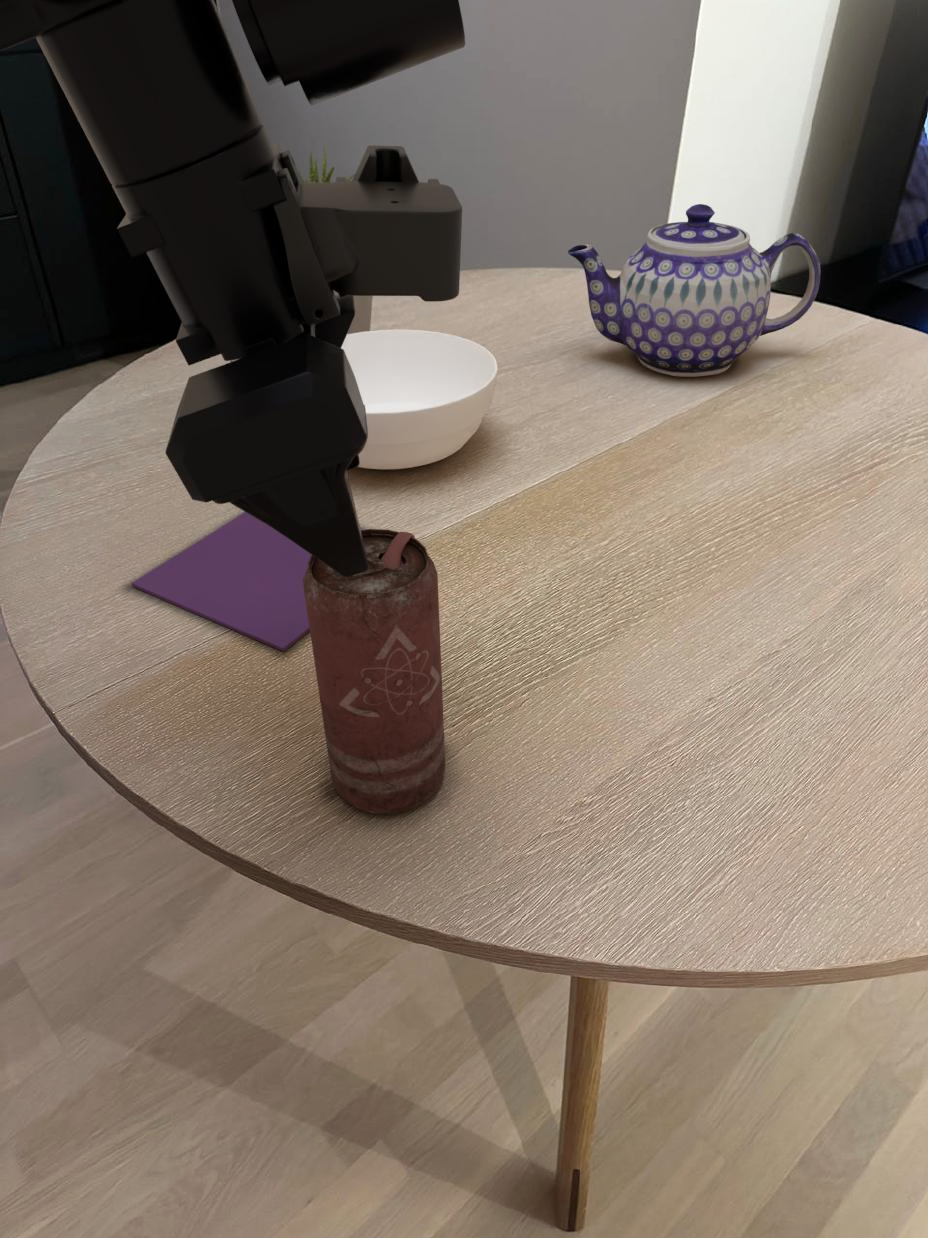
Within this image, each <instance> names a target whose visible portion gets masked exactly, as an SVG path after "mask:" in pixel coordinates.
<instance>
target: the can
mask: <svg viewBox="0 0 928 1238" xmlns="http://www.w3.org/2000/svg"><path fill="white" fill-rule="evenodd" d="M361 533H362V537H363V542H364V546H365V551H366V555H367V560H368V569H367V570H366V571H365V572H362V573H359V574H356V575H353V576H350V577H344V576H342V575H340V574H339V573H337V572H336V571H335V570H333V569H332V568H330V567H329V566H327V565H326V564H324V563H323V562H322V561H320V560H319V559H317V558H316V557H314V556H313V555H311V558H310V560H309V562H308V568H307V571H306V573H305V575H304V578H303V586H304V594H305V600H306V607H307V614H308V621H309V628H310V631H309V633H310V635H309V636H310V641H311V648H312V654H313V655H312V656H313V661H314V667H315V669H314V670H315V675H316V682H317V688H318V695H319V701H320V709H321V716H322V723H323V729H324V736H325V742H326V750H327V757H328V762H329V770H330V771H329V772H330V778H331V783H332V786H333V788H334V789H335V791H336V792H337V794H338V796H339V797H340V798H342V799H343V800H344V801H346V802H347V803H348V804H350V805H351V806H353V807H354V808H355V809H357V810H360V811H363V812H366V813H368V814H372V815H386V816H389V815H395V814H401V813H405V812H407V811H410V810H412V809H414V808H417V807H419V806H421V805H422V804H423V803H424V802H425V801H427V800H428V799H429V798H430V797H431V796H433V794H434V793H435V792H436V791H437V790H438V788H439V787H440V785H441V783H442V781H443V780H444V776H445V769H446V749H445V724H444V723H445V721H444V699H443V676H442V651H441V625H440V624H441V623H440V603H439V601H440V600H439V598H440V597H439V577H438V575H439V574H438V571H437V568H436V565H435V563H434V561H433V559H432V558H431V556H430V555H429V553H428V550H427V548H426V547H425V546H424V545H423V543H421V542H420V541H419V540H418V539H417V538H416V537H415V535H414V534H413V533H411V532H409V531H395V530H390V529H383V528H381V529H380V528H379V529H378V528H368V529H367V528H366V529H361Z"/></svg>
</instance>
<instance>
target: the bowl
mask: <svg viewBox="0 0 928 1238" xmlns="http://www.w3.org/2000/svg"><path fill="white" fill-rule="evenodd" d="M341 349H343V350H344V351H345V354H346V356H347V359H348V361H349V364H350V366H351V369H352V371H353V373H354V376H355V379H356V382H357V385H358V388H359V391H360V395H361V398H362V401H363V404H364V405H365V411H366V420H367V430H368V438H367V442H366V444H365V447H364V449H363V450H362V451H361V453H359V460H360V464H359V466H358V467H357V468H363V469H370V470H371V469H372V470H401V469H408V468H409V469H410V468H415V467H416V468H417V467H420V466H425V465H429V464H432V463H435V462H438V461H441V460H444V459H445V458H448V457H450V456H452V455H453V454H455V453H456V452H458V451H459V450H461V449H462V448H463V447H464V446H465V444H466V443H467V442H468V441H469V440H470V439H471V437H473V435H474V434H475V433H476V432H477V431H478V430H479V428H480V425H481V423H482V420H483V417H484V416H485V415H486V413H487V412H488V411H489V410H490V407H491V405H492V402H493V398H494V394H495V389H496V384H497V379H498V374H499V365H498V361H497V360H496V358H495V356H494V355H493V353H492V352H490V351H489V350H488V349H487V348H486V347H485V346H483V345H481V344H478V343H477V342H475V341H473V340H470V339H467V338H464V337H461V336H458V335H454V334H449V333H444V332H439V331H431V330H424V329H423V330H422V329H405V328H404V329H403V328H401V329H399V328H398V329H379V330H378V329H377V330H370V331H365V332H359V333H353V334H347V335H346V338H345V340H344V342H343V345H342V347H341Z"/></svg>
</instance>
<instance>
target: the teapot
mask: <svg viewBox="0 0 928 1238" xmlns="http://www.w3.org/2000/svg"><path fill="white" fill-rule="evenodd" d="M715 213H716V211H714V209H713V208H712V206H709V205H708V204H703V203H699V204H694V205H691V206H690V207H689V208H687V209H686V211H685V216H686V218H687V221H677V222H669V223H664V224H660V225H657V226H654V227H652V228H651V229H650V230H649V231H648V232H647V237H646V240H645V242H644V243H643V244H642V246H641V247H639V248H638V249H636V250H635V251H634V252H633V253H632V254H631V255H630V256H629V257H628V259H626V262H625V263H624V264H623V267H622V269H621V271H620V274H619V275H618V276H617V277H613V276H610V275H609V273H608V272H607V270H606V267H605V265H604V263H603V260H602V258H601V256H600V254H599V252H598V251H597V250H596V249H595V247H594V246H592V245H591V244H578V245H575V246H573V247H571V248H570V249H568V250H567V254H568V255H569V256H570V257H572V258H574V259H576V261H578V262H579V264H581V266H582V268H583V271H584V275H585V281H586V287H587V288H586V289H587V296H588V305H589V311H590V316H591V318H592V322H593V323H594V326H595V328H596V330H597V331H598V332H599V333H600V334H601V335H602V336H603V337H604V338H606V339H607V340H609V341H611V342H615V343H618V344H621V345H623V346H625V347H627V348H628V349H629V350H630V351H631V352H632V353H633V354H634V355H635V356H637V359H638V361H639V362H640V363H641V364H642V365H643V366H644V367H645V368H648V369H649V370H652V371H654V372H656V373H660V374H664V375H668V376H673V377H682V378H683V377H685V378H686V377H688V378H689V377H692V378H693V377H694V378H695V377H707V376H713V375H719V374H721V373H724V372H726V371H727V370H728V369H729V368H730V367H731V366H732V364H733V362H735V361H736V360H737V359H738V358H739V357H741V356H742V355H743V354H744V353H745V352H746V351H747V350H748V349H750V348H751V347H752V346H753V345H754V344H755V343H756V342H757V340H758V339H759V338H760V337H761V336H765V335H768V334H771V333H775V332H777V331H780V330H783V329H785V328H788V327H790V326H791V325H793V324H794V323H796V322H797V321H799V320H800V319H802V318H803V316H804V315H806V313H807V312H808V311H809V310H810V308H811V307H812V305H813V303H814V302H815V300H816V298H817V295H818V292H819V289H820V283H821V263H820V259H819V257H818V254H817V252H816V251H815V250H814V248H813V246H812V245H811V244H810V242H809V241H808V240H807V239H806V238H805V237H804V236H803V235H801V234H799V233H793V232H791V233H788V234H785V235H784V236H782V237H780V238H779V239H777V240H776V241H774V242H773V243H772V244H771V245H770V246H769V247H768V248H767V249H765V250H763V251H761V252H759V251H758V250H757V249H756V248H755V247H753V246H752V244H751V243H750V242H751V236H750V234H749V233H748V232H747V231H746V230H744V229H743V228H740V227H737V226H735V225H729V224H726V223H719V222H713V221H711V219H712V218H713V216H714V215H715ZM790 247H796V248H798V249H799V251H801V252H802V253H803V255H804V258H805V259H806V262H807V265H808V272H809V273H808V274H809V275H808V282H807V286H806V290H805V292H804V294H803V295H802V297H801V299H800V301H799V302H797V304H796V305H795V306H794V307H793V308H792V309H791V310H790V311H788V312H786V313H785V314H783V315H781V316H778V317H775V318H768V317H767V316H768V311H769V306H770V301H771V291H772V290H771V283H772V282H771V281H772V280H771V279H772V273H773V270H774V268H775V265H776V263H777V261H778V260H779V257H780V256H781V254H782V253H783V252H784V251H785V250H786V249H788V248H790Z"/></svg>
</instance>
